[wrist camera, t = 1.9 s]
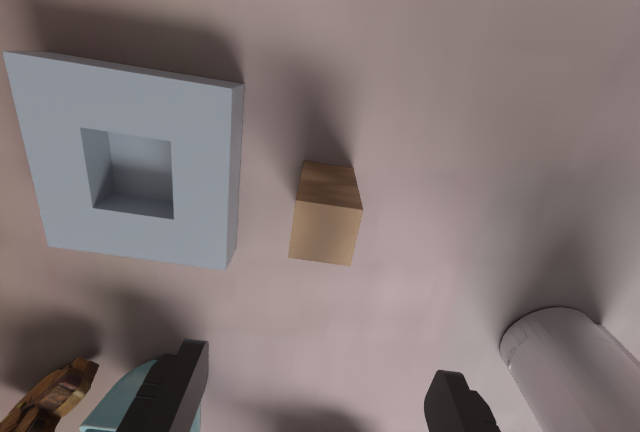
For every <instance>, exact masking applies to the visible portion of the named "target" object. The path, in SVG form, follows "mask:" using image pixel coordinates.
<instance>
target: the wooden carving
mask: <svg viewBox="0 0 640 432" xmlns="http://www.w3.org/2000/svg"><path fill="white" fill-rule="evenodd" d="M98 367H99V364H97V363H95V362H92V361H87V360H85V359H83V358H82V357H80V356H79V357H78V358H76V360H75V361H73V363H72V364H70V365H67V366H66V367H64V368H63V369H62V370H61V369H58V370H56V371H54V372H52V373H50V374H49V375H47V376H46V377H45V378H44V379H42V380H41V381H40V382H39V383H38V384H37V385H36V386H35V387H34V388H33V389H32V390H30V391H29V392H28V393H27V394H26V396H24V397H23V399H22V400H20V401H19V403H18V404H17V405H15V406H14V408H13V409H12V410H11V411H10V412H9V414H8V415H7V416H6V417H5V418H4V419H3V420H2V421H1V422H0V432H54V431H55V428H56V426H57V424H58V422H59V421H60V419H61V417H64V416H65V415H66V414H68V413H69V412H70V411H71V410H72V409H74V408H75V407H76V406H77V404H78V403H79V402H80V401H81V400H82V399H83V397H84V396H85V395H86V394H87V392H88V391H89V390H90V388H91V384H92V382H93V379H94V376H95V374H96V372H97V370H98Z"/></svg>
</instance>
